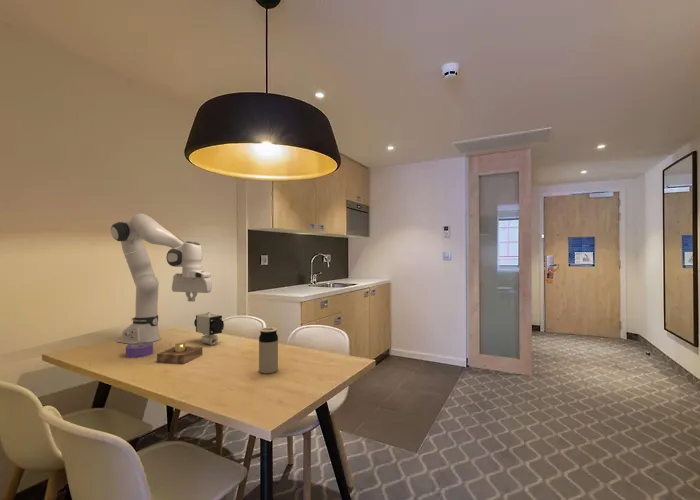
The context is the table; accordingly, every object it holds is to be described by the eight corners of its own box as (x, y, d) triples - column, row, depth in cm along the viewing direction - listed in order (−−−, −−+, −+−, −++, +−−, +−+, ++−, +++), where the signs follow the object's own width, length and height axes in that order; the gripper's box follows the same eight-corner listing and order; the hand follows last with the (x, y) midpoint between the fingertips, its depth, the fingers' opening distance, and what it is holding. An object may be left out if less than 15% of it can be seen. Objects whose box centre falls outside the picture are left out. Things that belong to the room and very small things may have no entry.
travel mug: (266, 375, 140) (266, 332, 140) (255, 371, 145) (255, 329, 146) (281, 370, 146) (281, 328, 146) (270, 366, 151) (270, 326, 152)
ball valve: (226, 344, 188) (226, 312, 188) (212, 348, 181) (212, 314, 181) (207, 339, 198) (207, 309, 198) (193, 343, 191) (193, 311, 191)
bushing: (172, 359, 161) (172, 345, 161) (179, 357, 165) (179, 342, 165) (180, 360, 160) (181, 345, 160) (187, 357, 164) (187, 343, 164)
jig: (156, 362, 157) (156, 353, 157) (177, 353, 171) (177, 345, 171) (183, 364, 155) (183, 355, 155) (202, 355, 168) (202, 347, 168)
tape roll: (149, 357, 166) (149, 347, 166) (121, 359, 163) (121, 348, 163) (155, 350, 177) (155, 341, 177) (130, 352, 174) (130, 342, 174)
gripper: (169, 273, 168) (168, 301, 168) (206, 274, 164) (205, 303, 164) (177, 272, 174) (177, 299, 174) (213, 273, 171) (213, 301, 170)
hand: (191, 301), depth 169 cm, fingers closed
